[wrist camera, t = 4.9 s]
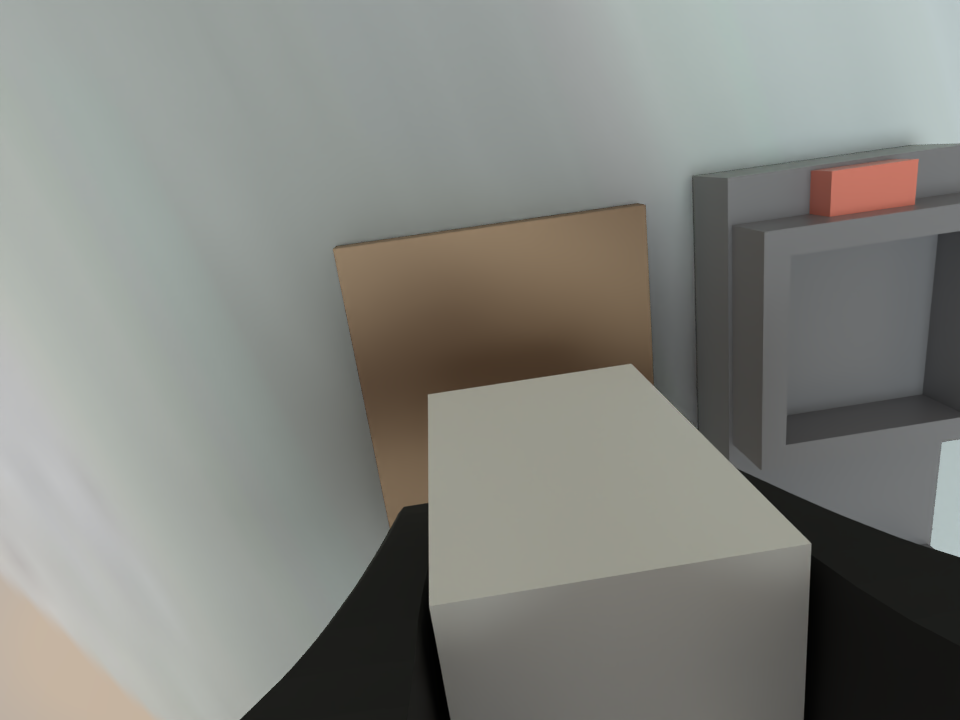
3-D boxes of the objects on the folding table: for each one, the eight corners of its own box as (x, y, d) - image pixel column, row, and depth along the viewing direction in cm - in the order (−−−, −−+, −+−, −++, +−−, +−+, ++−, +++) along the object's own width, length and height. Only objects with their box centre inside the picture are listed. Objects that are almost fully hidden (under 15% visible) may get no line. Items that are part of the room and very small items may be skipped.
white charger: (640, 538, 13) (799, 817, 8) (456, 568, 13) (480, 874, 8) (631, 363, 12) (811, 544, 6) (428, 394, 12) (429, 606, 6)
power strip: (858, 803, 24) (926, 906, 21) (707, 831, 24) (753, 939, 21) (912, 144, 17) (1034, 140, 13) (692, 175, 16) (760, 180, 13)
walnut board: (652, 499, 19) (659, 510, 19) (395, 541, 19) (394, 552, 18) (637, 203, 16) (645, 204, 16) (336, 246, 16) (333, 249, 16)
